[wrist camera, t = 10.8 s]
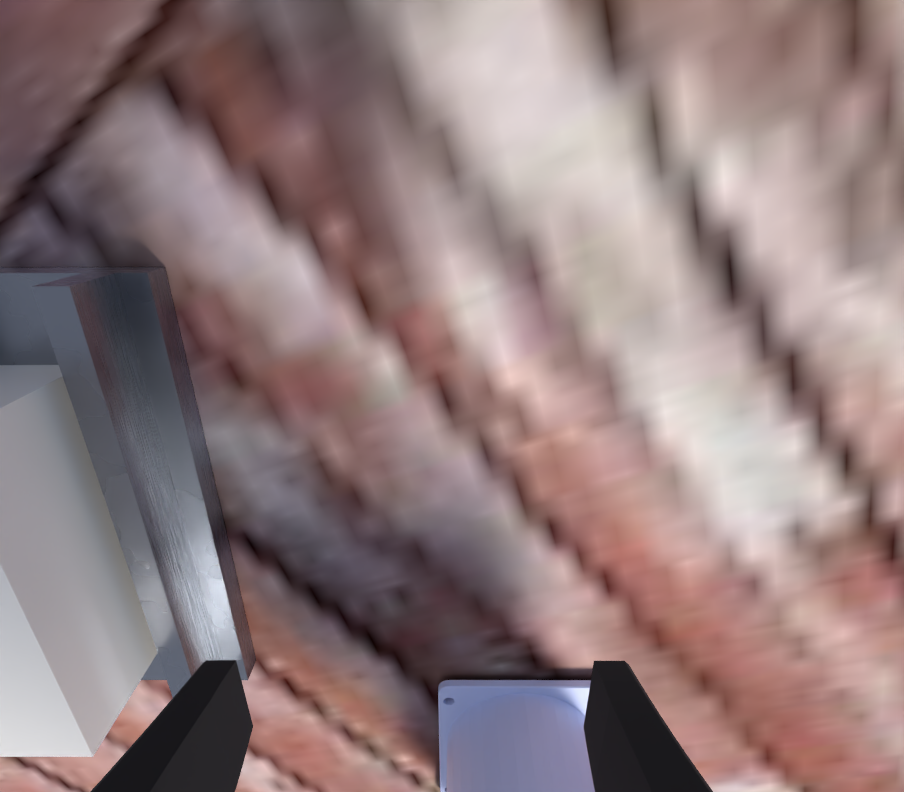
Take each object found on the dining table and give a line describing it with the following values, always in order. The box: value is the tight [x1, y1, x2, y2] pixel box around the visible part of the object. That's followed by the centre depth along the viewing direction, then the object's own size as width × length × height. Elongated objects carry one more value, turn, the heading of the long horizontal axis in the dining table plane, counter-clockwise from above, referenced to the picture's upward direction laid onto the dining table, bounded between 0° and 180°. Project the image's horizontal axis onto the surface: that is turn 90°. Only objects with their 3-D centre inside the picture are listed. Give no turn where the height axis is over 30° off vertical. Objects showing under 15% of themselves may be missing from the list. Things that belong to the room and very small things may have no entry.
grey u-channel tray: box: [0, 267, 256, 698], centre depth 18 cm, size 18×9×3 cm, turn 0°
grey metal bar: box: [0, 365, 157, 757], centre depth 16 cm, size 12×4×5 cm, turn 0°
